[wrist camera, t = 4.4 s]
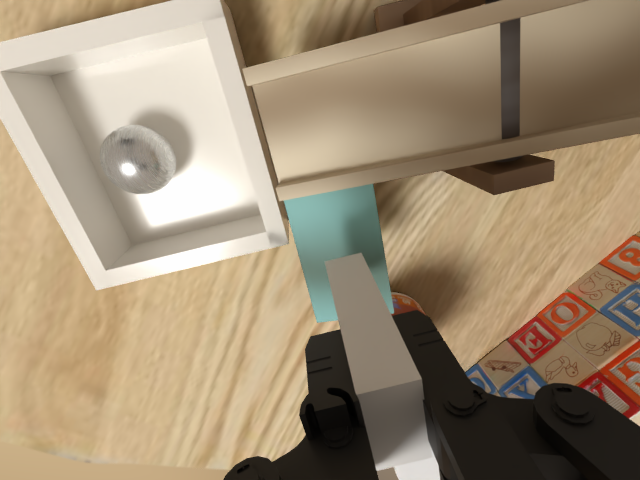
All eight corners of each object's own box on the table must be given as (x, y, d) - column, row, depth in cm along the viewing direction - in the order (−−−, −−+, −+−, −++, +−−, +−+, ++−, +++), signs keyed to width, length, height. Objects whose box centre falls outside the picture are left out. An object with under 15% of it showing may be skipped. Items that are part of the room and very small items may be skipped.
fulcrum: (373, 10, 19) (445, -62, 10) (463, -12, 19) (609, -101, 10) (395, 171, 22) (462, 216, 14) (471, 153, 22) (584, 187, 14)
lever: (253, 61, 14) (229, 57, 12) (818, -89, 11) (963, -142, 8) (319, 309, 19) (313, 346, 17) (724, 258, 16) (797, 293, 13)
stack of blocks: (489, 414, 32) (601, 589, 21) (447, 383, 30) (545, 556, 19) (703, 253, 27) (1001, 365, 16) (669, 202, 25) (983, 289, 14)
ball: (173, 114, 19) (116, 128, 20) (135, 121, 16) (69, 138, 16) (196, 177, 20) (142, 189, 21) (166, 196, 17) (103, 208, 18)
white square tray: (28, 60, 18) (-38, 51, 15) (230, 11, 18) (216, -11, 15) (126, 259, 23) (96, 290, 19) (288, 220, 23) (288, 243, 19)
